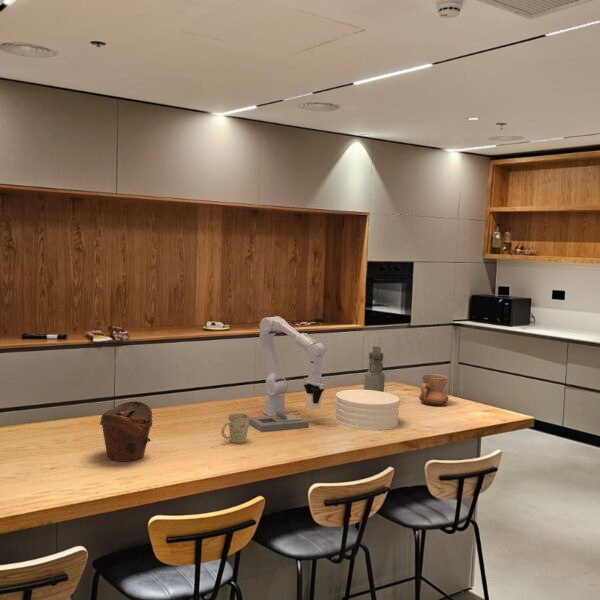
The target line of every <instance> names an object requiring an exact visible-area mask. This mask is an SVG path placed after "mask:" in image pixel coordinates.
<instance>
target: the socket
mask: <svg viewBox="0 0 600 600" xmlns="http://www.w3.org/2000/svg"><path fill="white" fill-rule="evenodd" d="M288 414H289V413H284V415H288ZM292 414H293V415H295V416H297V417H299V418H301V420H297V421H286V422H284V421H282V420H281V419H279V418H277V417H276V415H272V416H268V415H262V416H250V421H249V425H250V426H251V427H253V428H254V429H256V430H257V431H259V432H260V433H265V432H266V433H267V432H277V431H288V430H297V429H304V428H305V429H306V428H308V429H309V427H310V426H309V425H310V421H308V420H306V419H304V418H303V417H300V416H298V415H297V414H294V413H292Z"/></svg>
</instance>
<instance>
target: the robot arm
mask: <svg viewBox="0 0 600 600" xmlns="http://www.w3.org/2000/svg"><path fill="white" fill-rule="evenodd" d="M258 326H259V329H260V331H259V335H258V336H259V340H260V346H261V351H262V353H263V354H262V355H263V359H264V362H265V367H266V368H265V369H266V371H267V372H266V373H267V377H266V379H265V392H266V393H267V394H266V395H265V399H264V410H262V413H263V414H265V416H272V415H276V412H280V413H282V414H285V413H284V412H285V398H286V397H285V395H286V392H287V391H288V389H289V384H288V382H287V380H286V378H285V375H284V374H282V372H281V370H280V365H279V362H278V358H277V353H276V349H275V344H274V341H273V338H274V337H275V335H276V334H277V333H279V332H282V333H285V334H286V335H287V336H289V337H290V338H292V339H294V340H295V344H296V345H297V346H299V347H300V348H302V350H304V352H306V353H307V356H308V370H307V371H308V372H307V374H308V375H307V377H304V378H303V379H304V380H303V383H306V384H304V385H303V387H304V389H305V392H306V394H307V393H313V403H314V404H317V403H319V399H320V396H321V397H322V394H323V392H324V391H325V389H326V384H324V383H323V381H322V371H323V370H322V369H323V356H324V355H325V354H326V347H325V345H324V344H323V343H322V342H319V341H317V340H316V339H313V338H311V337H310V336H309V334H308V333H307V332H306V333H305V332H301V333H300V332H299V331H297V330H296V329H295V328H294V327H293V326H292V325H290V324H289V323H288V322H287V321H286V319H284V318H282V317H281V316H279V315H276V316H269V317H267V316H266V317H264V318H262V319H261V321H260V323H259V325H258Z"/></svg>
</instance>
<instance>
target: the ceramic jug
mask: <svg viewBox="0 0 600 600" xmlns="http://www.w3.org/2000/svg"><path fill="white" fill-rule="evenodd" d="M422 382H423V383H421V385H420V394H419V395H418V397H419V398H418V399H419V400H420V401H421V402H422V403H424V404H426V405H431V406H443V405H445V404H447V403H448V402H449V396H448V394H447V393H445V392H444V389H445V387H446V385H447V384H448V376H446V375H443V374H436V373H427V374H423V375H422Z"/></svg>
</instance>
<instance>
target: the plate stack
mask: <svg viewBox="0 0 600 600" xmlns="http://www.w3.org/2000/svg"><path fill="white" fill-rule="evenodd" d="M400 401H401V400H400V397H399V396H397V395H395V394H392V393H389V392H385V391H384V392H381V391H374V390H364V389H347V390H346V389H345V390H341V391H338V392H336V394H335V405H334V409H335V410H334V422H336V423H337V424H338V425H340V426H343V427H347V428H349V429H350V428H351V429H355V430H364V431H365V430H366V431H384V430H390V429H394V428H396V427H398V425H399V414H400V413H399V412H400Z"/></svg>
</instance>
